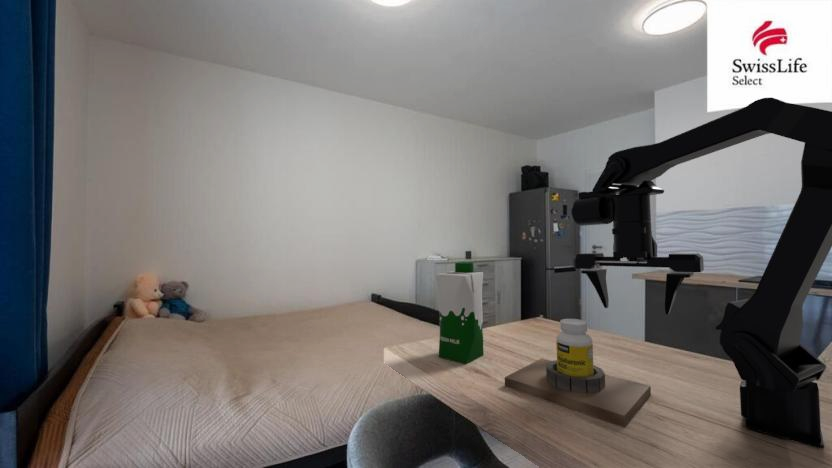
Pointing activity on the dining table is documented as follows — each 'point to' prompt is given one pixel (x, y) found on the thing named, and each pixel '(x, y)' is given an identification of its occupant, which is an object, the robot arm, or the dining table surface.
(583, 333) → the supplement bottle
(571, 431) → the dining table surface
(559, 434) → the dining table surface
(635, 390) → the socket board
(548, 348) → the dining table surface
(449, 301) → the milk carton
